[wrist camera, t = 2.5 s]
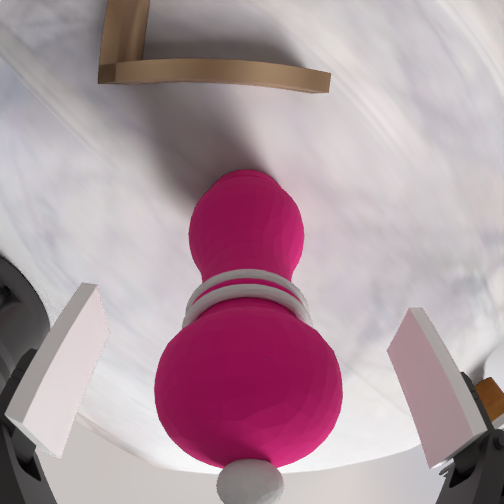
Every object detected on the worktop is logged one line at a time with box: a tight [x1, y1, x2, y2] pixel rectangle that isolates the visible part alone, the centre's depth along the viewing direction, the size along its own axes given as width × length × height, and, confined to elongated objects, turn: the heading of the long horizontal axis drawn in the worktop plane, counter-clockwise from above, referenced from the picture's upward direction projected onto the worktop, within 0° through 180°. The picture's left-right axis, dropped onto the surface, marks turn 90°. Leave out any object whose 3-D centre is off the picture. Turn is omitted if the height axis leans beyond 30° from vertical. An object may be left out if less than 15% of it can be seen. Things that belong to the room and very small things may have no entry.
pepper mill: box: [154, 169, 343, 504], centre depth 14 cm, size 7×7×20 cm
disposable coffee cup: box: [475, 377, 504, 430], centre depth 37 cm, size 10×10×12 cm
